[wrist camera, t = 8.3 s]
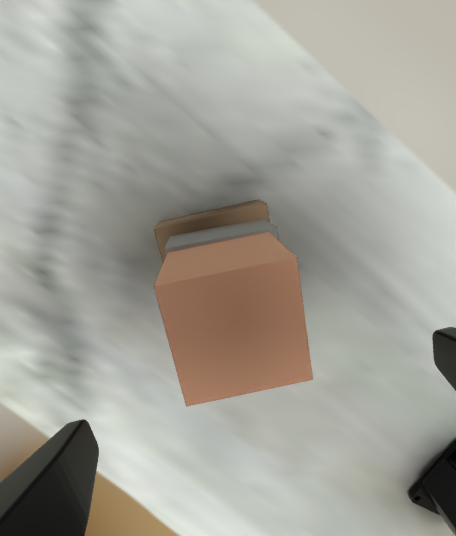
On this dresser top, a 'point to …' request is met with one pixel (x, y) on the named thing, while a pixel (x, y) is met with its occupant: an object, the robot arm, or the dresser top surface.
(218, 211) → the walnut base block
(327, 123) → the dresser top surface
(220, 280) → the terracotta cube
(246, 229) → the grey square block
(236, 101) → the dresser top surface
